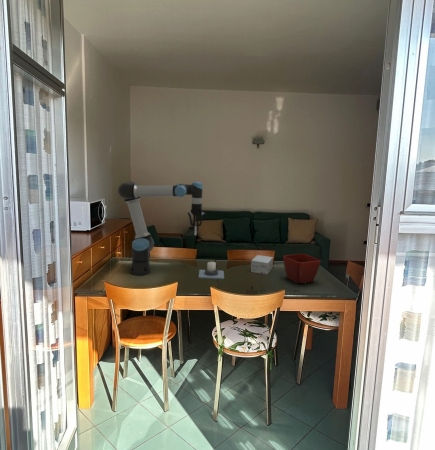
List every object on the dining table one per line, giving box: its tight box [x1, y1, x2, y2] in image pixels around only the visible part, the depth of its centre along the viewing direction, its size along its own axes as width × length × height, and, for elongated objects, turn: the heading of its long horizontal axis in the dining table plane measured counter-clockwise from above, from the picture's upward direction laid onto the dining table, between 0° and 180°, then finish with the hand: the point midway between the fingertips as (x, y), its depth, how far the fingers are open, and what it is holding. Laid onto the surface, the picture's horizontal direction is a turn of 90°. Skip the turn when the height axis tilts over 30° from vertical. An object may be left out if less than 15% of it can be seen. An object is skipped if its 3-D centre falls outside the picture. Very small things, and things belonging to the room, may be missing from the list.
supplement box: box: [250, 254, 274, 275], centre depth 259 cm, size 17×13×9 cm
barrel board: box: [197, 268, 225, 280], centre depth 243 cm, size 18×16×4 cm
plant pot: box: [282, 253, 322, 284], centre depth 239 cm, size 19×19×17 cm
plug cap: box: [206, 261, 217, 272], centre depth 242 cm, size 6×6×8 cm
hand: (195, 234), depth 250 cm, fingers closed
